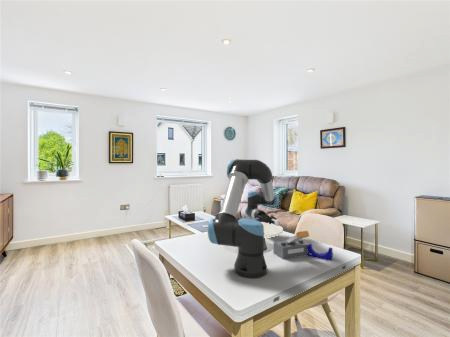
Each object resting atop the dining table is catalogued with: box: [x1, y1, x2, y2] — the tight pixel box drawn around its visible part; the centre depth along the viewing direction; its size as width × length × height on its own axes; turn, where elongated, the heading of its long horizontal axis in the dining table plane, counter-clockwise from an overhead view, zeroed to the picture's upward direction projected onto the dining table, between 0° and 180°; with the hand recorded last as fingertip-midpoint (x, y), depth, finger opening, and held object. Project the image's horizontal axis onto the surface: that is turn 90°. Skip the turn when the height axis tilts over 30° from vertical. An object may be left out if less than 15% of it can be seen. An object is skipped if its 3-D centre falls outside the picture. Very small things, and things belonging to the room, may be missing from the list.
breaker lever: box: [285, 230, 310, 244], centre depth 128 cm, size 6×3×14 cm
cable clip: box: [307, 243, 334, 262], centre depth 130 cm, size 12×4×6 cm, turn 60°
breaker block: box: [272, 239, 309, 260], centre depth 133 cm, size 16×9×8 cm, turn 111°
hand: (278, 223), depth 144 cm, fingers closed
